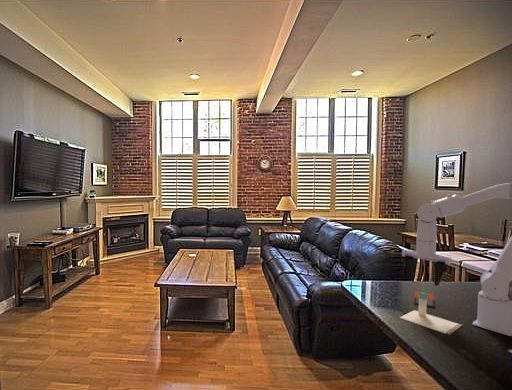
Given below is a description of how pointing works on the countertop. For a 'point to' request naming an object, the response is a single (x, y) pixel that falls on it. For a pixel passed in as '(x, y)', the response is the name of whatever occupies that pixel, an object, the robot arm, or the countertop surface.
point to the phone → (429, 300)
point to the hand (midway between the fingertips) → (424, 281)
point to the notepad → (432, 322)
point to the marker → (422, 304)
